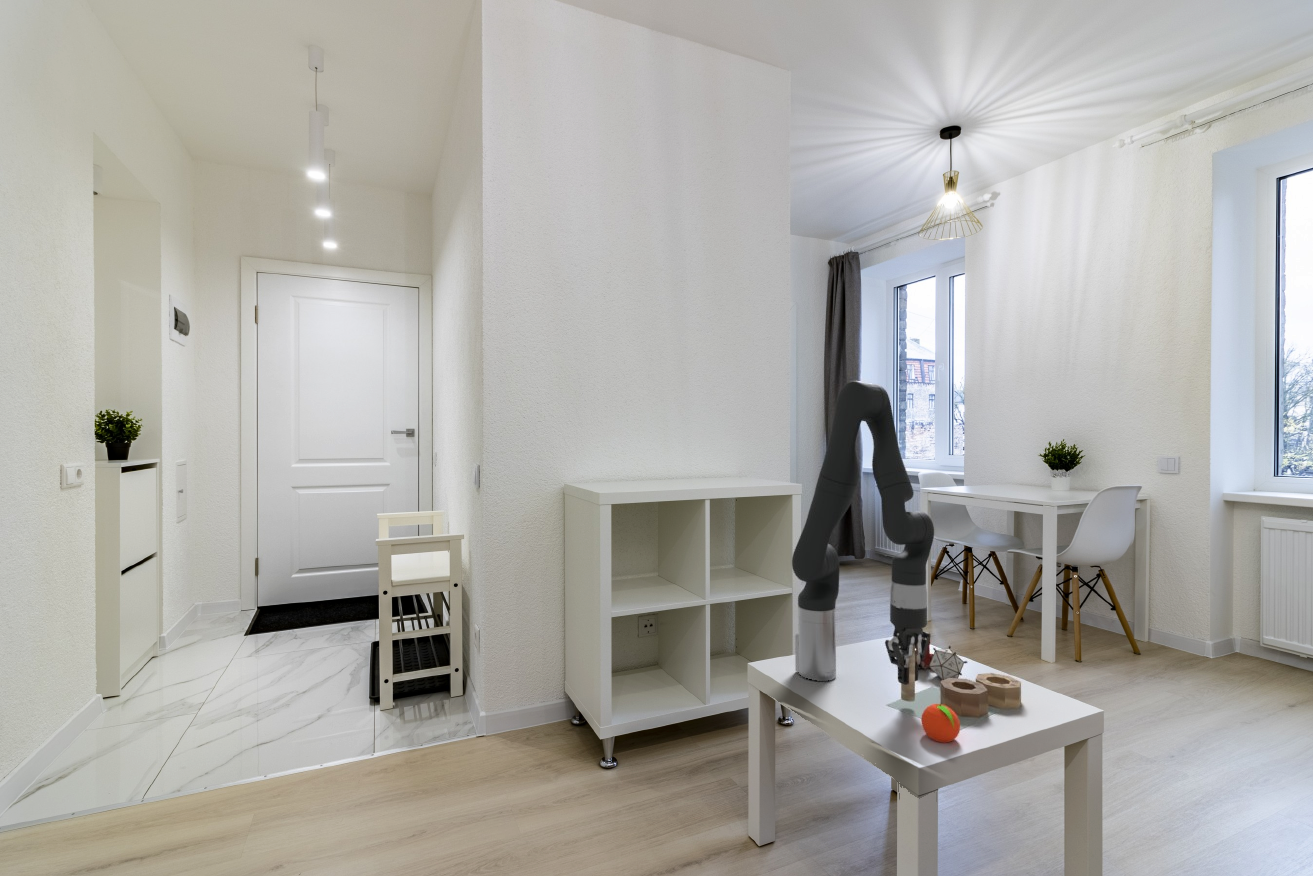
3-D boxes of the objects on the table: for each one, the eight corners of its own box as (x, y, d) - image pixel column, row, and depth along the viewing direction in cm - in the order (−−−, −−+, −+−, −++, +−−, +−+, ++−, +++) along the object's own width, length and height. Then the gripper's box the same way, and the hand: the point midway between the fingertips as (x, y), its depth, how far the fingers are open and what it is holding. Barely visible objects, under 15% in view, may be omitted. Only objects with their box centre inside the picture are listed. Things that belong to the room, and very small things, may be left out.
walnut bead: (934, 706, 136) (933, 683, 136) (955, 697, 141) (955, 675, 141) (972, 720, 129) (972, 696, 129) (993, 710, 134) (993, 687, 134)
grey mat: (886, 707, 137) (886, 704, 137) (932, 689, 147) (932, 686, 147) (956, 735, 124) (956, 732, 124) (1001, 712, 134) (1001, 709, 134)
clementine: (971, 750, 117) (971, 713, 117) (937, 753, 116) (937, 715, 117) (946, 731, 125) (946, 696, 125) (914, 733, 124) (914, 698, 125)
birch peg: (898, 698, 136) (898, 643, 136) (905, 695, 137) (906, 641, 137) (909, 702, 134) (910, 647, 134) (917, 699, 135) (917, 644, 135)
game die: (955, 698, 151) (974, 674, 145) (920, 683, 153) (938, 658, 147) (953, 669, 158) (972, 645, 153) (920, 655, 160) (937, 631, 154)
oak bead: (974, 704, 138) (973, 682, 138) (979, 692, 145) (979, 670, 145) (1018, 714, 133) (1018, 690, 133) (1022, 700, 140) (1021, 678, 140)
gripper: (912, 594, 143) (911, 670, 143) (873, 603, 135) (873, 683, 135) (942, 602, 136) (942, 680, 136) (904, 611, 128) (904, 694, 128)
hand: (907, 681), depth 135 cm, fingers closed on birch peg, 2 cm apart
